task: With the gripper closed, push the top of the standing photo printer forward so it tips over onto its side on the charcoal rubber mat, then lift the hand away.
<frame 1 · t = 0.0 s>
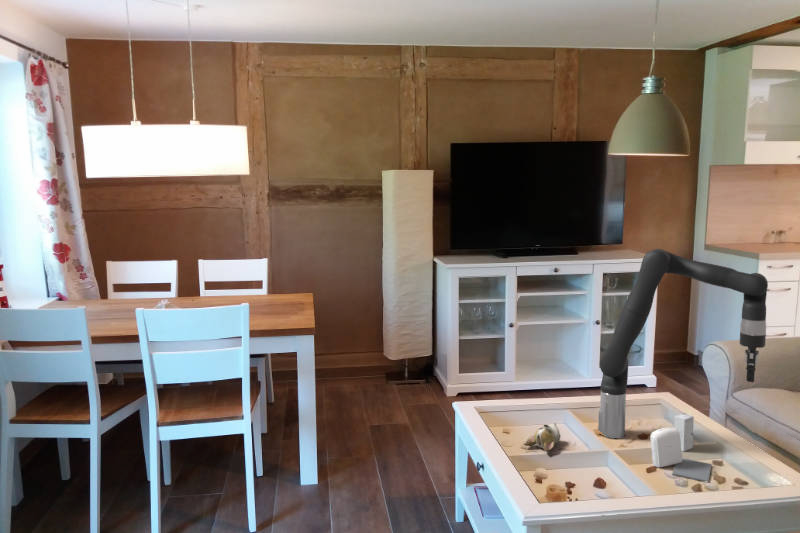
hand: (750, 378, 200), 29 cm above the table, fingers open, 8 cm apart
ceramic sculpture: (544, 447, 216), on the table
skincare box: (682, 448, 213), on the table
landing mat: (692, 470, 196), on the table
photo printer: (667, 464, 200), on the table, touching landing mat
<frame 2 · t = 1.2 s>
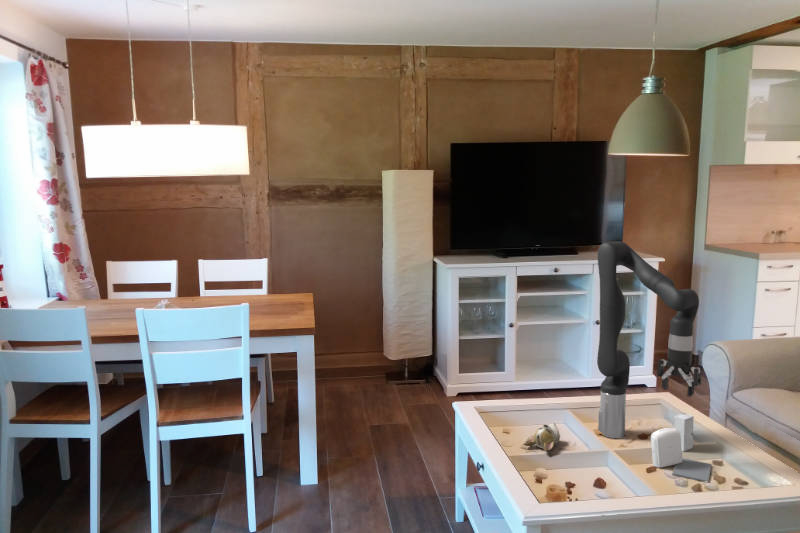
hand: (677, 392, 201), 24 cm above the table, fingers open, 8 cm apart
photo printer: (667, 464, 200), on the table, touching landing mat
everything else where it was.
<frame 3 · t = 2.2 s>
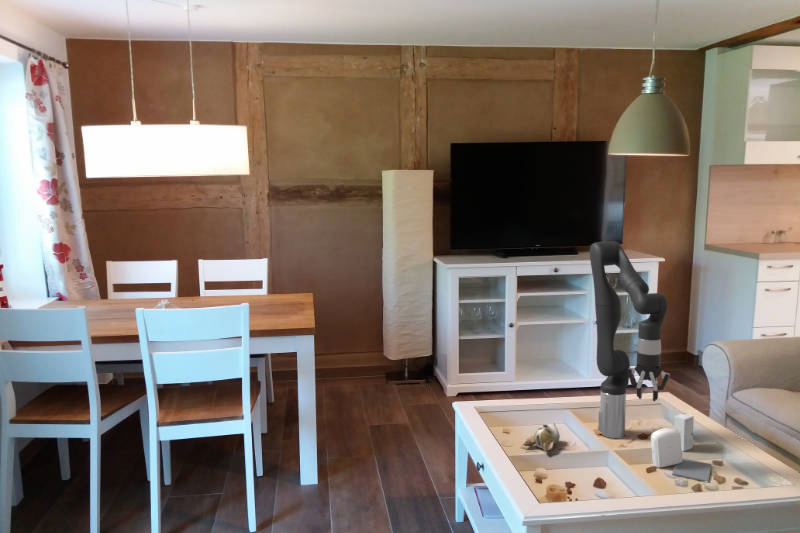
hand: (647, 399, 201), 22 cm above the table, fingers open, 4 cm apart
nothing on the table moved.
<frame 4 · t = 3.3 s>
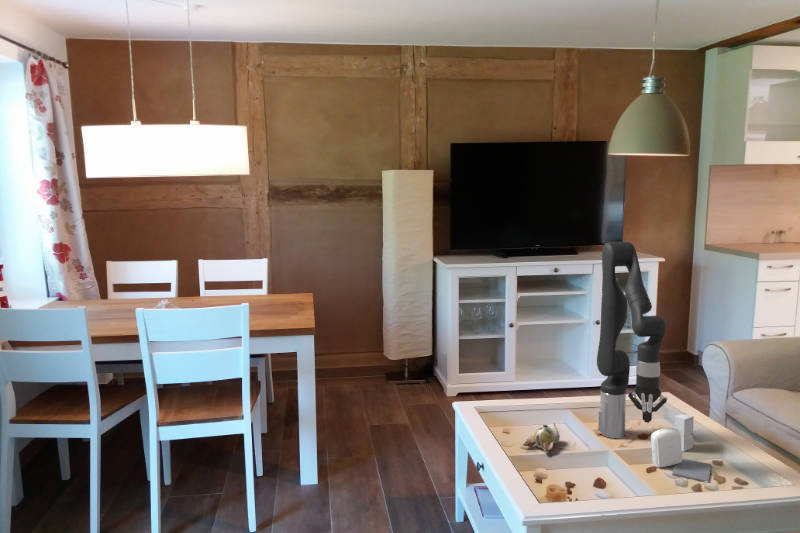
hand: (647, 421, 202), 14 cm above the table, fingers closed
nothing on the table moved.
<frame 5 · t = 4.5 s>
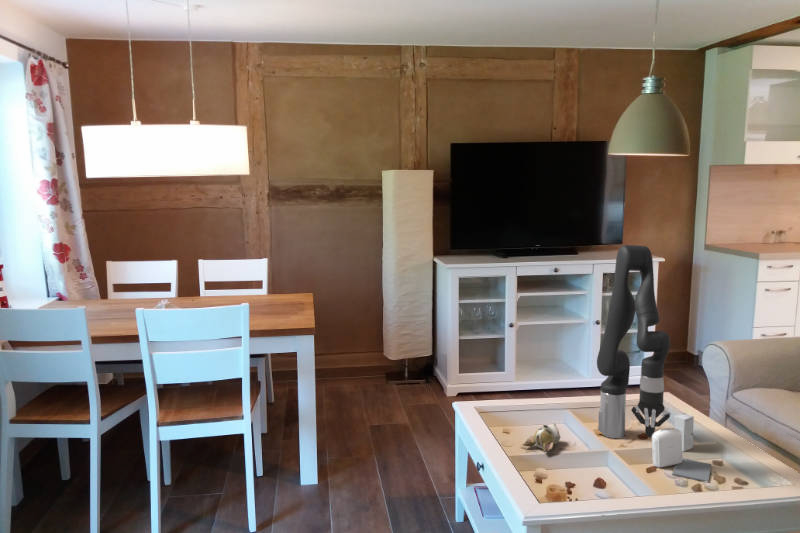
hand: (650, 436, 202), 9 cm above the table, fingers closed
photo printer: (667, 464, 200), on the table, touching gripper, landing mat
everything else where it was.
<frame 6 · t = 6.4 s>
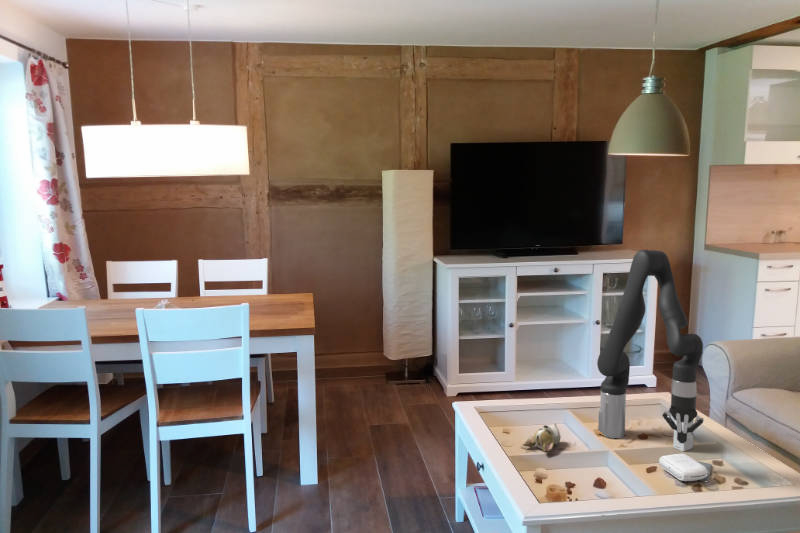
hand: (681, 442, 196), 9 cm above the table, fingers closed
photo printer: (670, 459, 198), point 3 cm above the table, touching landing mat
everything else where it was.
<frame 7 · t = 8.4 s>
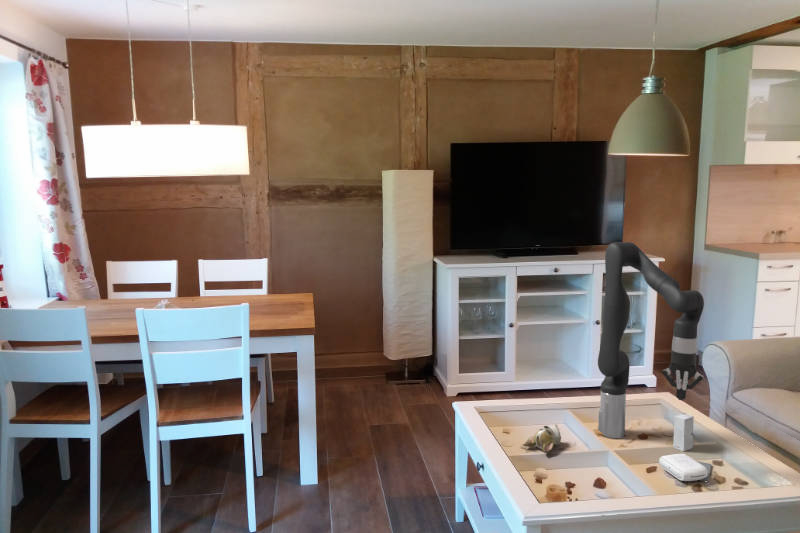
hand: (681, 399, 197), 23 cm above the table, fingers closed
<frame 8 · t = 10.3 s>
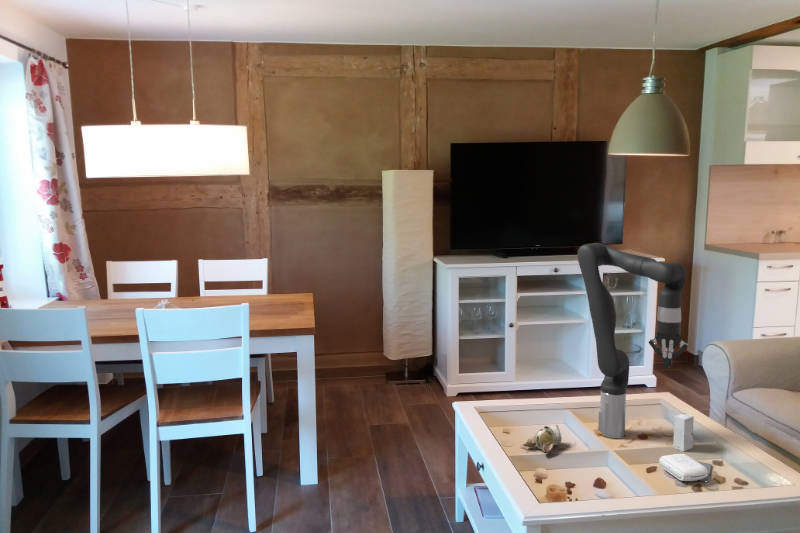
hand: (667, 367, 204), 32 cm above the table, fingers closed
at the end: photo printer tilted 91°; photo printer inside the target area (4.4 cm from its centre), point 2.9 cm above the table; the gripper is holding nothing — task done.
